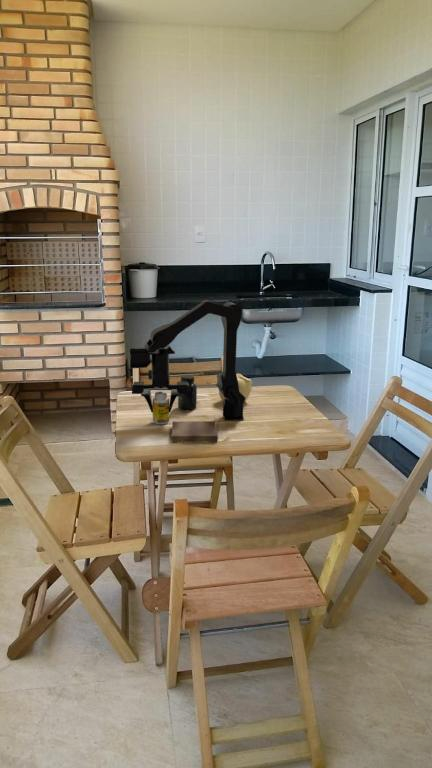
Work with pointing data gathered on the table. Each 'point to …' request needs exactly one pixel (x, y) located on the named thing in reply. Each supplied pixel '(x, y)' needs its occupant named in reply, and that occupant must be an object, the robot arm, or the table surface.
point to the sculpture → (242, 387)
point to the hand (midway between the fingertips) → (160, 412)
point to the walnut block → (194, 431)
